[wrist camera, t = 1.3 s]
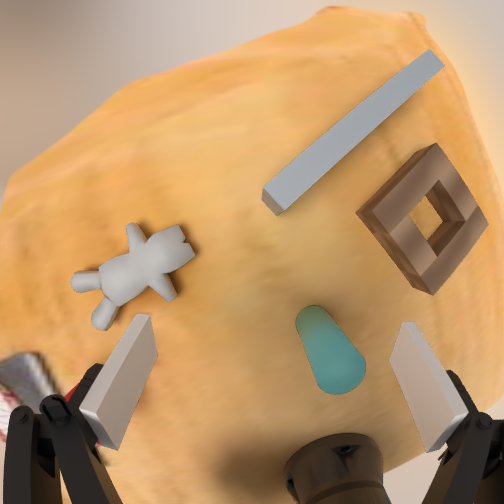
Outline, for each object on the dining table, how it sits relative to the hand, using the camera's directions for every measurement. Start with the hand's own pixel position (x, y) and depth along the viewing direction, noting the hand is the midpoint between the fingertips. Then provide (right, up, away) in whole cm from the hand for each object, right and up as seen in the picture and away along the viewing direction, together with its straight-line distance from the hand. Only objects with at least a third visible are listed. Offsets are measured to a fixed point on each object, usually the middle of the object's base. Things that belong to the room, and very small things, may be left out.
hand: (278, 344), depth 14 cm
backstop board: (+9, +18, +17) cm, 26 cm away
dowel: (+6, -4, +19) cm, 20 cm away
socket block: (+19, +9, +18) cm, 27 cm away
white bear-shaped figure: (-15, +2, +19) cm, 24 cm away
